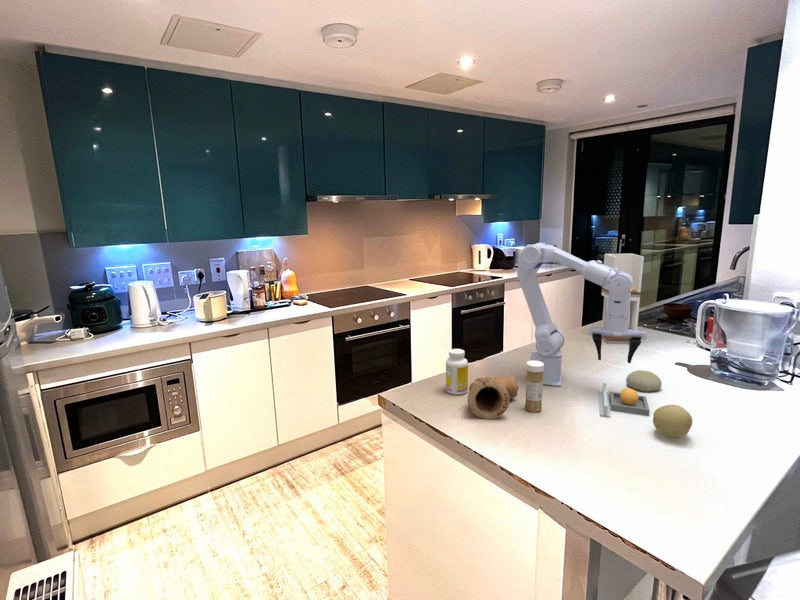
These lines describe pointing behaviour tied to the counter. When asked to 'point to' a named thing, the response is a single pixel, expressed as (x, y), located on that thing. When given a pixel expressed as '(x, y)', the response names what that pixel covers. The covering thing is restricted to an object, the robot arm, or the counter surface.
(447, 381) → the supplement bottle
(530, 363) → the sprinkles bottle
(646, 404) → the dish
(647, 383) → the sea urchin shell
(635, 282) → the tall curved cream stand
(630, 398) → the ball
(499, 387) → the clay pipe
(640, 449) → the counter surface
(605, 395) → the divider
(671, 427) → the potato
